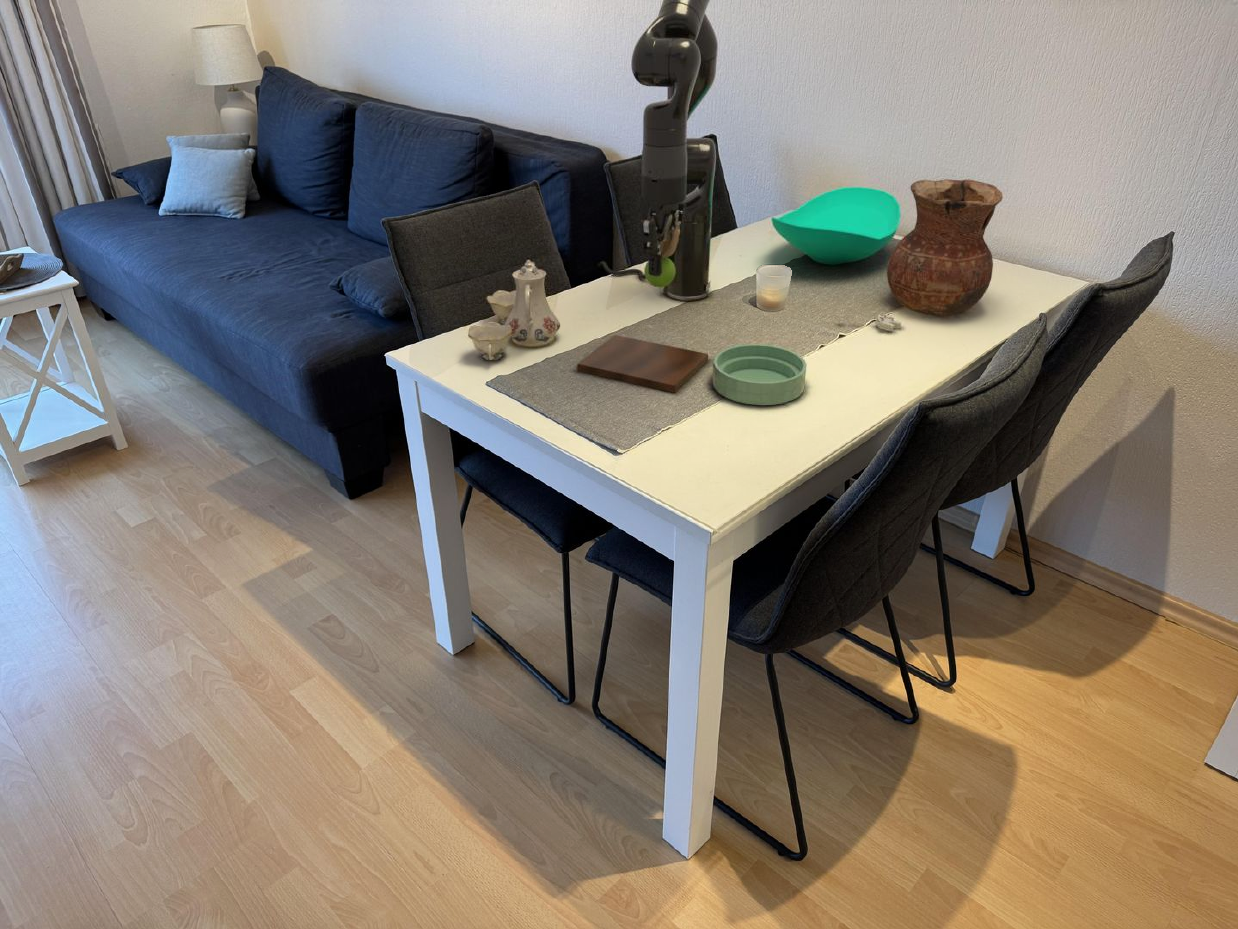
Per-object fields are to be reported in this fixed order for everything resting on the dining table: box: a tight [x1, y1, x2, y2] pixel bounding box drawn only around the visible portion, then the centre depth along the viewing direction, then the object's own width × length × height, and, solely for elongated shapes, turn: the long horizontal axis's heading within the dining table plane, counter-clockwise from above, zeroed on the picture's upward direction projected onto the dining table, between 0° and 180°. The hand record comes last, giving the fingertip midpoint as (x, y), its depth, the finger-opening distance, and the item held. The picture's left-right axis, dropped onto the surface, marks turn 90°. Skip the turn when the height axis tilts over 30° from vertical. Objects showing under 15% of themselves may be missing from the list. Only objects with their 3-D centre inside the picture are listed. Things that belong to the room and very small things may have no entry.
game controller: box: [843, 313, 902, 332], centre depth 178 cm, size 6×12×3 cm, turn 100°
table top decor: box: [771, 186, 902, 266], centre depth 212 cm, size 40×28×13 cm
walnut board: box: [576, 334, 709, 394], centre depth 164 cm, size 20×15×2 cm
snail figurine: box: [644, 221, 681, 288], centre depth 152 cm, size 5×6×12 cm
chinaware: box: [467, 259, 561, 361], centre depth 172 cm, size 28×17×17 cm, turn 1°
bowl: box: [711, 343, 808, 406], centre depth 156 cm, size 16×16×4 cm
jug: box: [886, 178, 1004, 317], centre depth 183 cm, size 22×21×25 cm
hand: (662, 269), depth 153 cm, fingers closed on snail figurine, 5 cm apart
